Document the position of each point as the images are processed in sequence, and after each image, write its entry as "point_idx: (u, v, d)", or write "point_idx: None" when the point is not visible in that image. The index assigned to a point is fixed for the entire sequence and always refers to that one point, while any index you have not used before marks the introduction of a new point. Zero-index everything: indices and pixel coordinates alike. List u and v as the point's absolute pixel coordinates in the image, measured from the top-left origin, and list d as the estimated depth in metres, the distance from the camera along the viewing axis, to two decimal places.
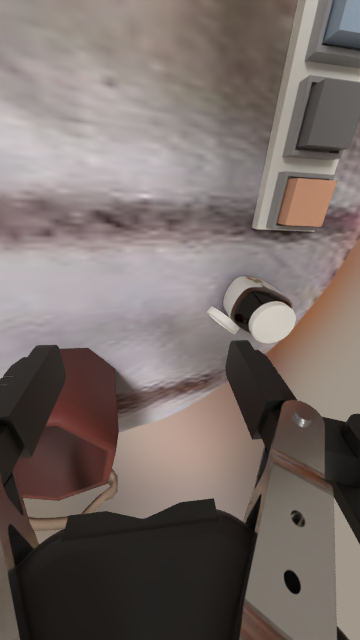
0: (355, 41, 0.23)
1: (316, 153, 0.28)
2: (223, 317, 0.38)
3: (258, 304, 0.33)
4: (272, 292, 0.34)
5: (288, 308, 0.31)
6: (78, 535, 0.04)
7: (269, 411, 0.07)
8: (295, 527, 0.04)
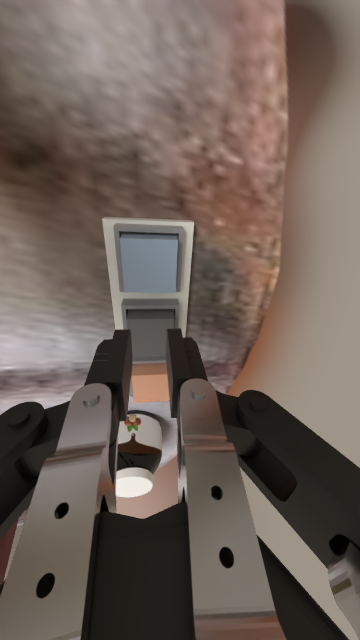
0: None
1: None
2: None
3: (117, 467, 0.35)
4: (135, 450, 0.36)
5: (139, 477, 0.33)
6: None
7: (178, 390, 0.08)
8: (217, 502, 0.04)
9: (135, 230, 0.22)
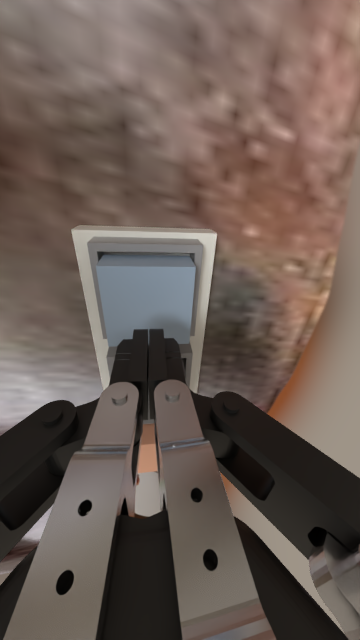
0: None
1: None
2: None
3: None
4: None
5: None
6: None
7: None
8: (198, 504, 0.04)
9: (124, 249, 0.14)
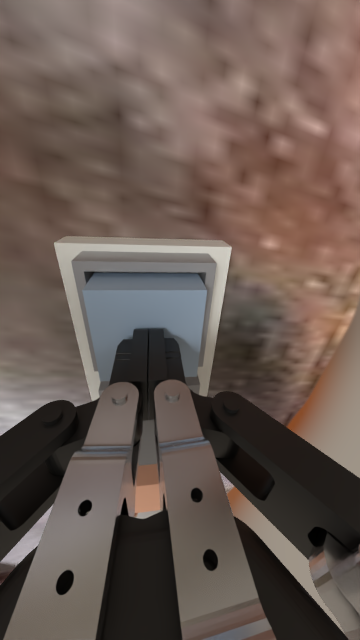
0: None
1: None
2: None
3: None
4: None
5: None
6: None
7: None
8: (197, 504, 0.04)
9: (118, 269, 0.11)
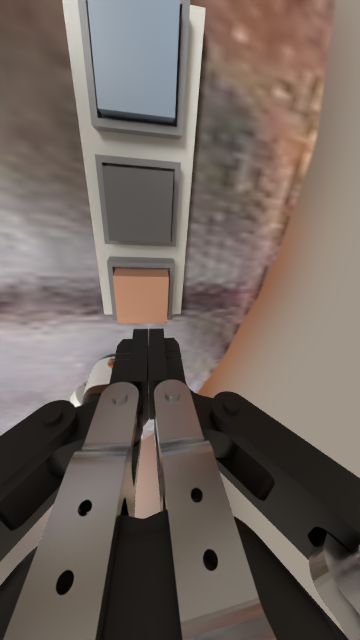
0: (140, 117, 0.17)
1: (141, 242, 0.22)
2: None
3: None
4: None
5: None
6: None
7: None
8: (197, 504, 0.04)
9: None
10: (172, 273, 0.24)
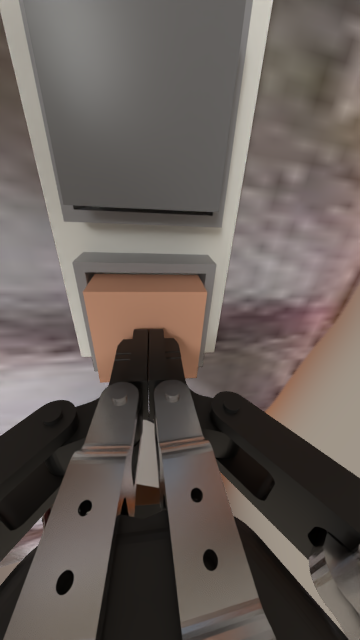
0: None
1: (146, 216, 0.10)
2: None
3: None
4: None
5: None
6: None
7: None
8: (197, 504, 0.04)
9: None
10: (209, 284, 0.12)
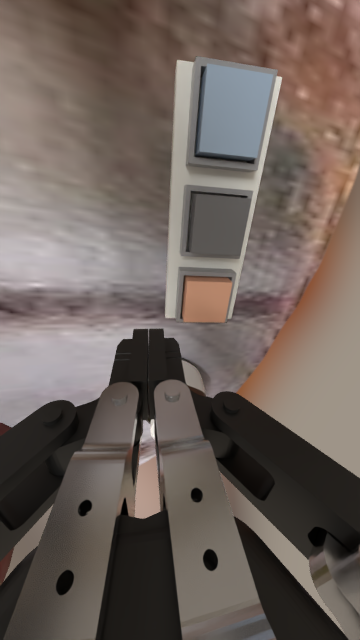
0: (226, 157, 0.21)
1: (211, 254, 0.26)
2: None
3: None
4: None
5: None
6: None
7: None
8: (197, 504, 0.04)
9: None
10: (233, 281, 0.28)
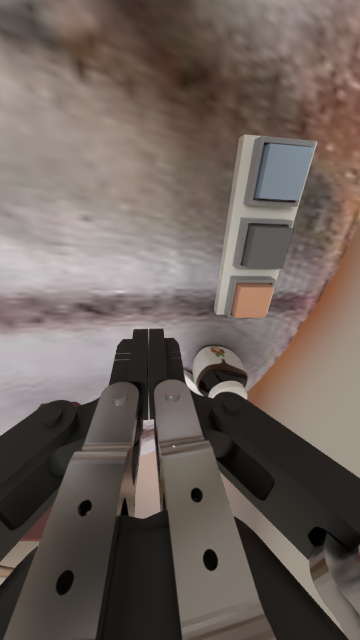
0: None
1: None
2: (191, 384, 0.44)
3: (216, 381, 0.39)
4: (229, 369, 0.40)
5: (239, 388, 0.37)
6: None
7: None
8: (198, 504, 0.04)
9: (277, 141, 0.26)
10: (273, 286, 0.37)
